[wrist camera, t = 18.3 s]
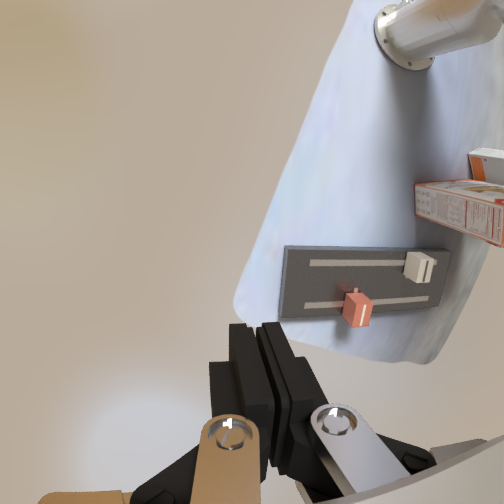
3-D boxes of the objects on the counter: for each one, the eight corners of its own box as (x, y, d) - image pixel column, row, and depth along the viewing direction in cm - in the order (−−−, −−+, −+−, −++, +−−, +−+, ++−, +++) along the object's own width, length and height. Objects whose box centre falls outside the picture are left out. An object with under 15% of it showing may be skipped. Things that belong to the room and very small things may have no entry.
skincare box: (466, 153, 49) (513, 159, 37) (479, 147, 49) (524, 152, 37) (473, 183, 51) (518, 193, 39) (485, 175, 51) (529, 185, 39)
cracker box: (466, 176, 50) (553, 196, 30) (466, 207, 52) (549, 235, 32) (412, 180, 49) (506, 203, 29) (413, 215, 50) (503, 251, 31)
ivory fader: (407, 251, 50) (421, 259, 46) (420, 251, 50) (434, 259, 46) (403, 274, 51) (416, 283, 47) (416, 273, 51) (429, 282, 47)
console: (284, 245, 48) (288, 249, 46) (444, 248, 54) (452, 252, 51) (278, 311, 52) (281, 318, 49) (432, 302, 57) (438, 306, 55)
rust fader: (345, 293, 50) (356, 304, 46) (362, 292, 50) (373, 303, 46) (341, 315, 51) (352, 327, 47) (357, 314, 52) (368, 326, 48)
